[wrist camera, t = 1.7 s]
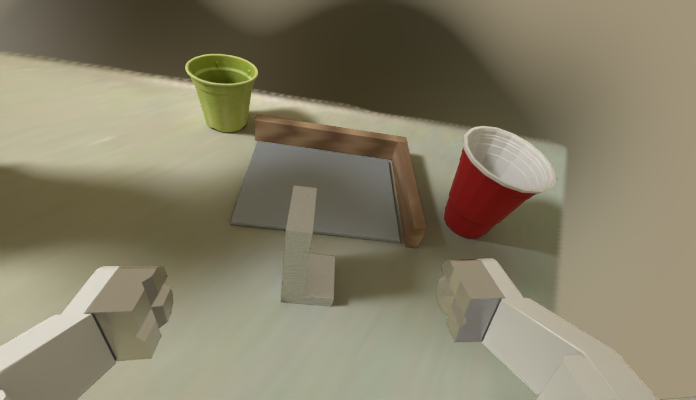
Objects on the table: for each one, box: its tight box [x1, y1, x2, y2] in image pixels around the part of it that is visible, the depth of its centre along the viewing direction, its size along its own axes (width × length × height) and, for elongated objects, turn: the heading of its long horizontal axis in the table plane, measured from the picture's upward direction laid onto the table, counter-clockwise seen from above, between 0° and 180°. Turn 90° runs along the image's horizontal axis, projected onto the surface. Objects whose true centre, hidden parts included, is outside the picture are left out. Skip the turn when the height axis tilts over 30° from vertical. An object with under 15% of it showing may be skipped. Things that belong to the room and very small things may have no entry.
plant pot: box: [186, 54, 258, 132], centre depth 48 cm, size 9×9×9 cm
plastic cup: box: [444, 126, 556, 238], centre depth 40 cm, size 11×11×12 cm
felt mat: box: [230, 141, 400, 243], centre depth 44 cm, size 20×16×1 cm
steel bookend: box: [281, 185, 335, 306], centre depth 30 cm, size 5×5×11 cm
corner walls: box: [255, 115, 427, 248], centre depth 44 cm, size 23×19×4 cm
